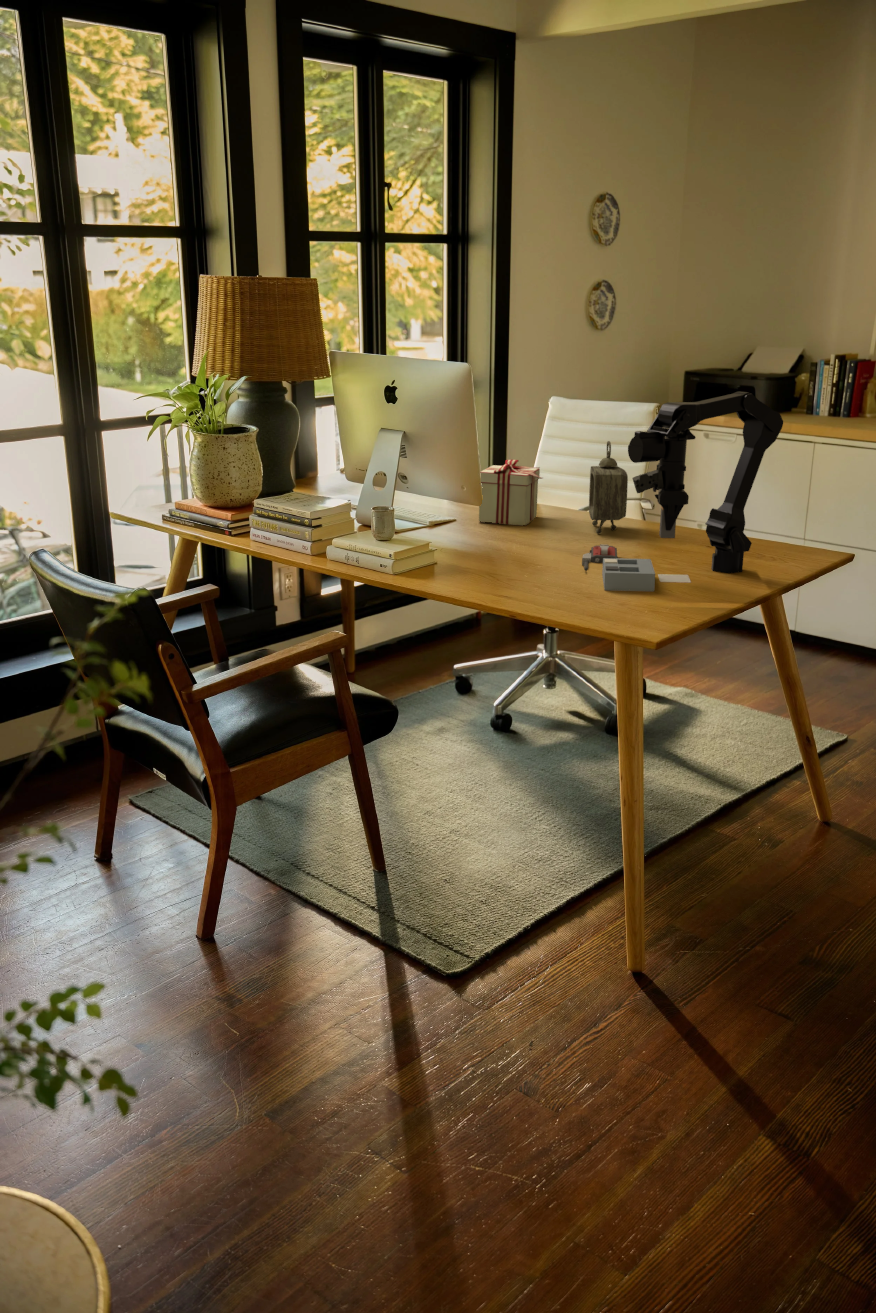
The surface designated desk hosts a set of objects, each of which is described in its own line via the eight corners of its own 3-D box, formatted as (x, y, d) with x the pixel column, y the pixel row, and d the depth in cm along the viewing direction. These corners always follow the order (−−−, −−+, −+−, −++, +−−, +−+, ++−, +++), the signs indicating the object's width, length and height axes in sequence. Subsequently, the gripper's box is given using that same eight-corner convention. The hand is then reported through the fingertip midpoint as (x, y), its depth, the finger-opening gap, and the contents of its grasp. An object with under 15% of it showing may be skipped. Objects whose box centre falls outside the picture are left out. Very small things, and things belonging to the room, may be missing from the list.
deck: (687, 578, 255) (687, 574, 255) (690, 586, 249) (691, 582, 248) (657, 578, 256) (657, 574, 256) (659, 585, 249) (660, 581, 249)
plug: (673, 535, 250) (675, 500, 247) (674, 538, 247) (677, 503, 244) (659, 534, 250) (661, 500, 248) (660, 537, 247) (662, 503, 245)
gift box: (539, 526, 313) (541, 467, 307) (477, 524, 317) (477, 465, 311) (548, 515, 328) (549, 458, 323) (488, 513, 332) (488, 456, 327)
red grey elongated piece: (582, 555, 280) (581, 574, 261) (583, 539, 278) (582, 557, 259) (616, 556, 278) (618, 576, 260) (617, 539, 277) (619, 558, 258)
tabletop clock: (588, 525, 314) (591, 437, 306) (619, 525, 314) (623, 437, 306) (592, 535, 301) (596, 444, 293) (625, 535, 300) (630, 444, 292)
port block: (649, 579, 255) (650, 557, 253) (653, 595, 242) (655, 572, 240) (602, 578, 256) (603, 556, 254) (604, 594, 243) (605, 571, 241)
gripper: (633, 453, 253) (629, 520, 258) (639, 465, 235) (634, 536, 240) (681, 454, 252) (676, 521, 256) (691, 466, 234) (685, 537, 239)
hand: (667, 528), depth 248 cm, fingers closed on plug, 3 cm apart
